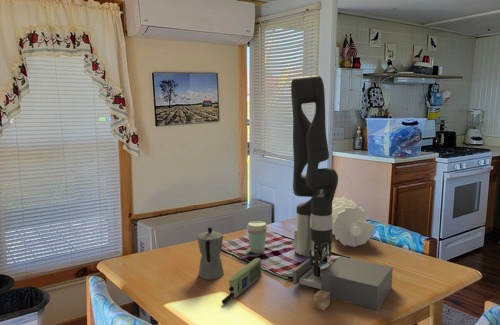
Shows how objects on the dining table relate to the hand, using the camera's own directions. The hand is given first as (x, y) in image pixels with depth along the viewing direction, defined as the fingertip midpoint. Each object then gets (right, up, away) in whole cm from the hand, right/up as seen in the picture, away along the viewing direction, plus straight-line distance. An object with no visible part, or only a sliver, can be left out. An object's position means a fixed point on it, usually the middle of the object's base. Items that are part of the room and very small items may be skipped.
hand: (320, 272), depth 141 cm
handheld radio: (-27, -5, -3) cm, 28 cm away
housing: (+11, -4, -7) cm, 13 cm away
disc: (0, +1, 0) cm, 1 cm away
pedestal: (-2, -6, -16) cm, 17 cm away
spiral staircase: (+19, +3, +44) cm, 48 cm away
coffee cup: (-21, +1, +31) cm, 38 cm away
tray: (+2, -2, -1) cm, 3 cm away
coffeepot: (-39, -3, +7) cm, 40 cm away
